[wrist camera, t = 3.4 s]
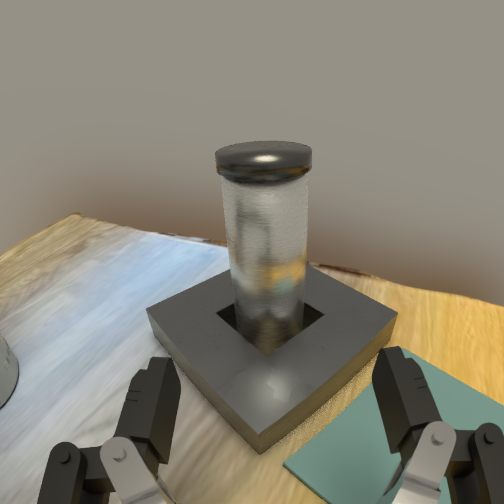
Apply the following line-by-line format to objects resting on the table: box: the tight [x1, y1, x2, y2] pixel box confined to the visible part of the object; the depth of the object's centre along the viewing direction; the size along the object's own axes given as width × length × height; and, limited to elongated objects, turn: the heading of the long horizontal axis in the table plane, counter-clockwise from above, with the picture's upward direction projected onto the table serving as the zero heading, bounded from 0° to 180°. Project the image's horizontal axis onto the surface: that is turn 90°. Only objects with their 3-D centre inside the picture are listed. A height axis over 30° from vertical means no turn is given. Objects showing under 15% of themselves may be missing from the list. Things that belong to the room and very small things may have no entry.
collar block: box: [146, 264, 398, 454], centre depth 24 cm, size 14×14×3 cm
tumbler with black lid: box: [215, 141, 312, 356], centre depth 21 cm, size 5×5×15 cm
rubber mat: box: [283, 348, 504, 504], centre depth 14 cm, size 13×13×1 cm
